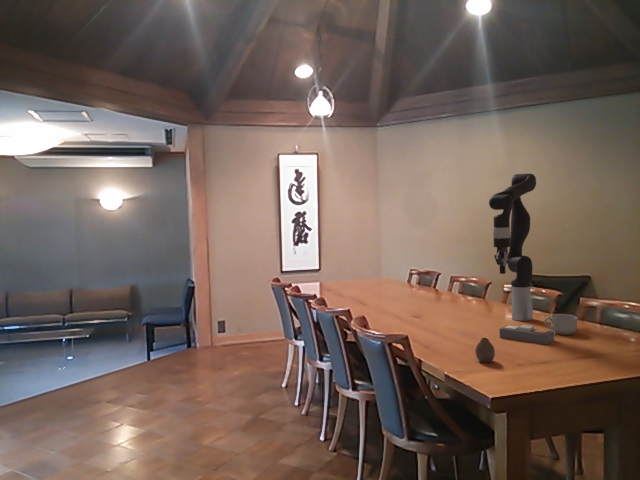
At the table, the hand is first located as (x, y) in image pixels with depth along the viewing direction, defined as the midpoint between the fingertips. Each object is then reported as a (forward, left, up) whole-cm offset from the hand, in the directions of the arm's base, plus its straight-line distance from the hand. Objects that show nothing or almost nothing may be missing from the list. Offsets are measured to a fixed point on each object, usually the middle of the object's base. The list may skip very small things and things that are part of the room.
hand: (502, 273), depth 229 cm
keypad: (+2, +18, -27) cm, 33 cm away
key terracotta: (-1, +24, -25) cm, 34 cm away
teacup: (-18, +16, -27) cm, 36 cm away
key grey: (+2, +18, -24) cm, 30 cm away
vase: (+37, +38, -27) cm, 60 cm away
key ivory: (+5, +12, -25) cm, 28 cm away
